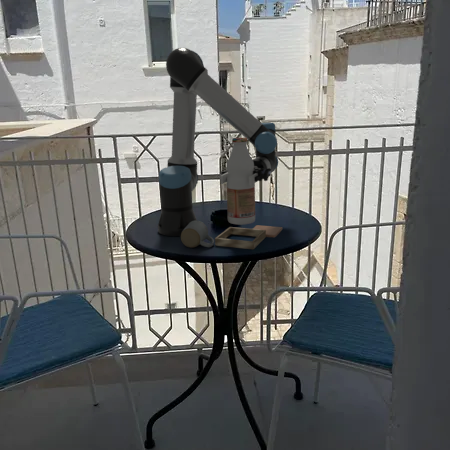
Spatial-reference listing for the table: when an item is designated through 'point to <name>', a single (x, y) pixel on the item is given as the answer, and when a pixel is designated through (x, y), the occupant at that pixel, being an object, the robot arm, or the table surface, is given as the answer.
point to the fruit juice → (240, 184)
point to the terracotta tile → (269, 230)
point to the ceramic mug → (196, 235)
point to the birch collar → (223, 241)
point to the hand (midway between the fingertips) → (235, 180)
